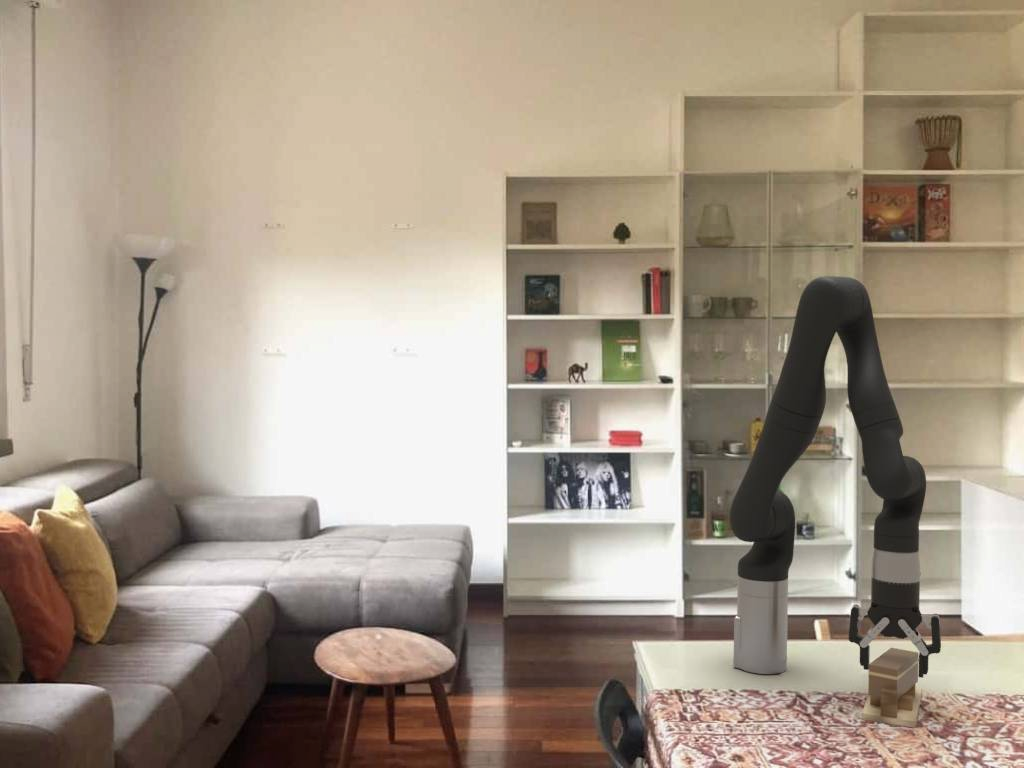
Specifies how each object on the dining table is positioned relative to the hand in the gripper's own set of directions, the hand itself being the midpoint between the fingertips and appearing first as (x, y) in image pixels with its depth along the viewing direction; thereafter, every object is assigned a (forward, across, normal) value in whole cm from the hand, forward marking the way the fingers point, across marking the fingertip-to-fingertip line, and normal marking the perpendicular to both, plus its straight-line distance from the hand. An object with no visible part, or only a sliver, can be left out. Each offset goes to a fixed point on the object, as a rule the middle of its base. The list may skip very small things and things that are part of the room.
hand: (893, 672), depth 163 cm
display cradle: (+6, 0, 0) cm, 6 cm away
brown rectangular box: (+3, 0, 0) cm, 3 cm away
